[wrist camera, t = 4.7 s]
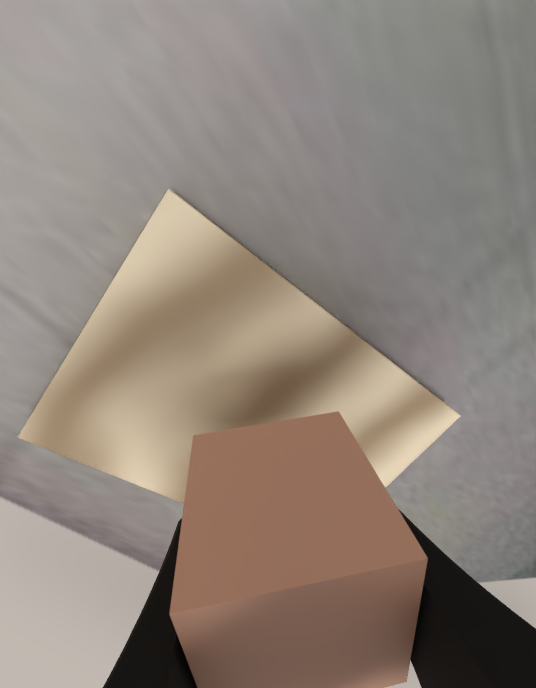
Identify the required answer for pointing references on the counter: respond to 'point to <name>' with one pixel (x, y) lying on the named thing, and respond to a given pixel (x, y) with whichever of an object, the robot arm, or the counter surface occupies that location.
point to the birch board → (217, 363)
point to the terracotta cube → (293, 562)
